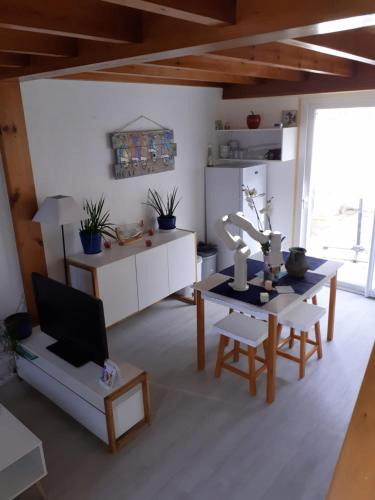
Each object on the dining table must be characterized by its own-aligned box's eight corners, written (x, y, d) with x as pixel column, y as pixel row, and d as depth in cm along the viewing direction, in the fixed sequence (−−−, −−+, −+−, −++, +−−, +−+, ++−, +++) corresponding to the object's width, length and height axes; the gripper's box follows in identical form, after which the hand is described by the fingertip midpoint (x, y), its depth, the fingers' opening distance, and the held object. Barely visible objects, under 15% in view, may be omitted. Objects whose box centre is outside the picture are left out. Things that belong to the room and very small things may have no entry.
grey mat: (278, 293, 309) (278, 292, 309) (275, 287, 320) (275, 286, 320) (294, 292, 309) (294, 292, 309) (290, 286, 321) (290, 285, 320)
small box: (266, 284, 327) (267, 271, 323) (263, 281, 333) (263, 268, 329) (278, 282, 329) (279, 270, 326) (274, 279, 335) (275, 267, 332)
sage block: (261, 302, 296) (261, 296, 295) (260, 299, 301) (260, 293, 299) (268, 302, 296) (268, 295, 295) (267, 299, 301) (267, 292, 299)
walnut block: (272, 274, 302) (272, 267, 300) (271, 271, 306) (271, 265, 305) (279, 273, 301) (279, 267, 300) (277, 271, 306) (277, 265, 305)
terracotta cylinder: (265, 290, 315) (265, 283, 313) (264, 287, 320) (264, 280, 318) (272, 290, 315) (272, 282, 313) (270, 287, 320) (271, 280, 318)
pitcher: (313, 274, 342) (315, 246, 334) (303, 283, 326) (304, 253, 318) (289, 269, 354) (291, 242, 346) (279, 277, 337) (280, 249, 329)
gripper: (264, 250, 295) (264, 274, 300) (288, 249, 294) (287, 273, 300) (263, 247, 302) (262, 270, 308) (286, 246, 301) (285, 269, 307)
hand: (275, 271), depth 304 cm, fingers closed on walnut block, 4 cm apart
